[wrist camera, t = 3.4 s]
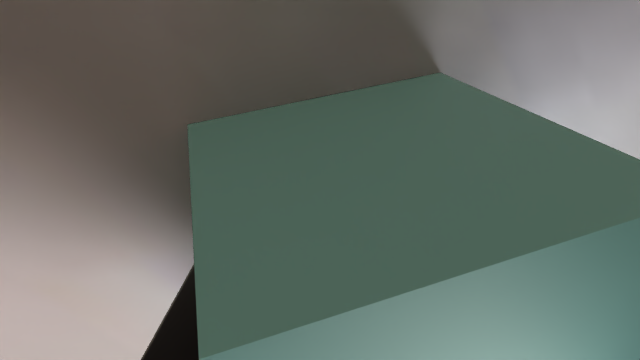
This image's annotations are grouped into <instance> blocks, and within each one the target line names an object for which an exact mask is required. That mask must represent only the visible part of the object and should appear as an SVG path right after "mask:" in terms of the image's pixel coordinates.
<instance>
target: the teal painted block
mask: <svg viewBox="0 0 640 360" xmlns="http://www.w3.org/2000/svg"><path fill="white" fill-rule="evenodd" d="M187 126H188V146H189V167H190V187H191V208H192V229H193V249H194V270H195V290H196V311H197V331H198V352H199V360H639V359H640V160H639V159H637V158H635V157H632V156H630V155H628V154H626V153H623V152H621V151H619V150H616V149H614V148H612V147H609V146H607V145H605V144H603V143H600V142H598V141H596V140H593V139H591V138H589V137H587V136H584V135H582V134H580V133H577V132H575V131H573V130H571V129H568V128H566V127H564V126H561V125H559V124H557V123H555V122H552V121H550V120H548V119H545V118H543V117H541V116H539V115H536V114H534V113H532V112H529V111H527V110H525V109H522V108H520V107H518V106H516V105H513V104H511V103H509V102H506V101H504V100H502V99H500V98H497V97H495V96H493V95H490V94H488V93H486V92H484V91H481V90H479V89H477V88H474V87H472V86H470V85H468V84H465V83H463V82H461V81H458V80H456V79H454V78H452V77H449V76H447V75H445V74H442V73H436V74H431V75H426V76H421V77H417V78H412V79H407V80H402V81H397V82H392V83H387V84H383V85H378V86H373V87H368V88H363V89H358V90H353V91H349V92H344V93H339V94H334V95H329V96H324V97H319V98H315V99H310V100H305V101H300V102H295V103H290V104H285V105H281V106H276V107H271V108H266V109H261V110H256V111H251V112H247V113H242V114H237V115H232V116H227V117H222V118H218V119H213V120H208V121H203V122H198V123H193V124H188V125H187Z"/></svg>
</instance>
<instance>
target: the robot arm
mask: <svg viewBox="0 0 640 360" xmlns="http://www.w3.org/2000/svg"><path fill="white" fill-rule="evenodd" d="M141 360H199V352H198V331H197V311H196V290H195V270H194V265H193V266H192V268H191V270H190V272H189V274H188V276H187V277H186V279H185V281H184V283H183V285H182V286H181V288H180V290H179V292H178V294H177V295H176V297H175V299H174V301H173V303H172V304H171V306H170V308H169V310H168V312H167V313H166V315H165V317H164V319H163V321H162V322H161V324H160V326H159V328H158V330H157V332H156V333H155V335H154V337H153V339H152V341H151V342H150V344H149V346H148V348H147V350H146V351H145V353H144V355H143V357H142V359H141ZM639 360H640V359H639Z"/></svg>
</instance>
